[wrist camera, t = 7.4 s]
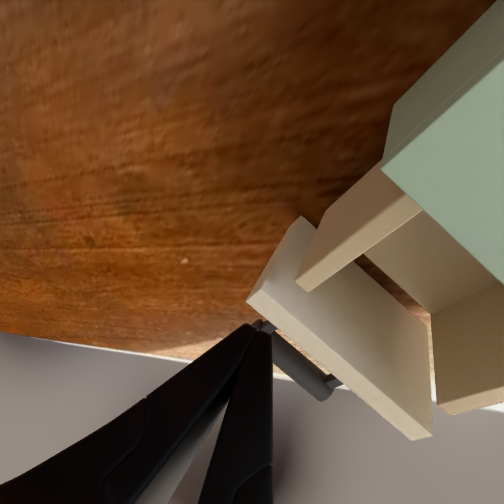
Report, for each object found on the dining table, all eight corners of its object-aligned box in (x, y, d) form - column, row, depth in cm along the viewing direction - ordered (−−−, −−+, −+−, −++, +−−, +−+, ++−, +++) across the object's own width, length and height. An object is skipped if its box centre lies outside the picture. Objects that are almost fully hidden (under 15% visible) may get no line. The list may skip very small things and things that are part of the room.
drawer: (353, 361, 24) (337, 457, 19) (244, 269, 23) (195, 342, 18) (697, 204, 13) (904, 334, 7) (513, 10, 12) (597, 2, 7)
